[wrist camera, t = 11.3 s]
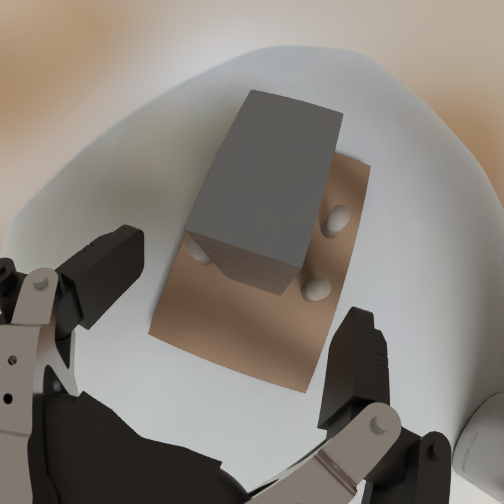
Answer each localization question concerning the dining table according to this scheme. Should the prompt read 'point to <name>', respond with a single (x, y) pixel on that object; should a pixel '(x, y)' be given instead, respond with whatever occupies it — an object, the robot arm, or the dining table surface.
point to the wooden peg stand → (267, 296)
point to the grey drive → (266, 190)
